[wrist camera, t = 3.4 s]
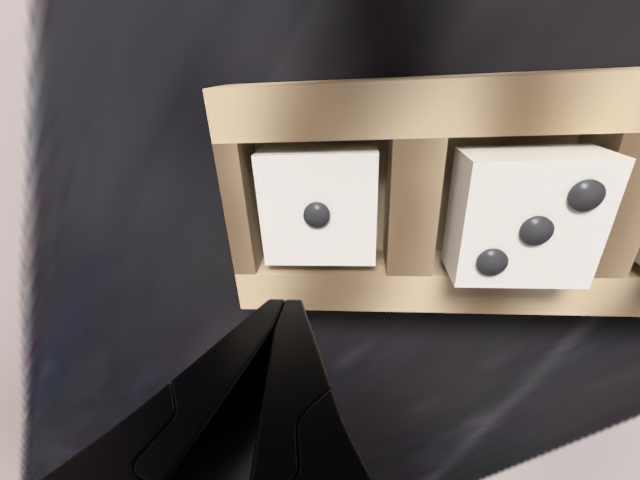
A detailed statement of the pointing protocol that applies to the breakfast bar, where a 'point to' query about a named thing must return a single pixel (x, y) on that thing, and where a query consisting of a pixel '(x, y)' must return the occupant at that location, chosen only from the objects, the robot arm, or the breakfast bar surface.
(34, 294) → the breakfast bar surface
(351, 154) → the key one dot
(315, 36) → the breakfast bar surface
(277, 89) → the beige wooden frame
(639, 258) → the key two dots
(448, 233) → the key three dots
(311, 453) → the robot arm
